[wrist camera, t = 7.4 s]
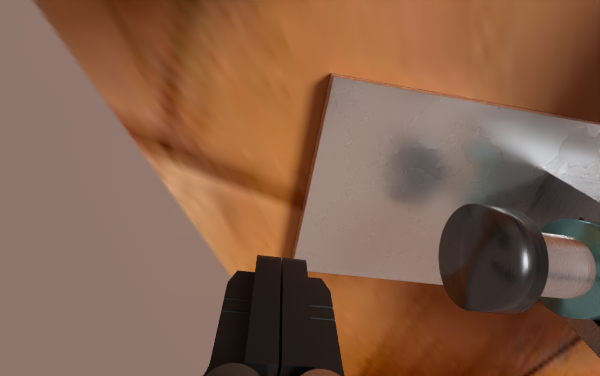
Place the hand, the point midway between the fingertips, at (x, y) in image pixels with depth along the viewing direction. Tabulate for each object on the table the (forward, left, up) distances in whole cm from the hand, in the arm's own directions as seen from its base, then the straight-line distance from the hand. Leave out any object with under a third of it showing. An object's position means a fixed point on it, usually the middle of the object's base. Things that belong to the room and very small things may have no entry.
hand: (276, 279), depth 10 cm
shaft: (-19, +2, -7) cm, 21 cm away
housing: (-15, +2, -11) cm, 19 cm away
